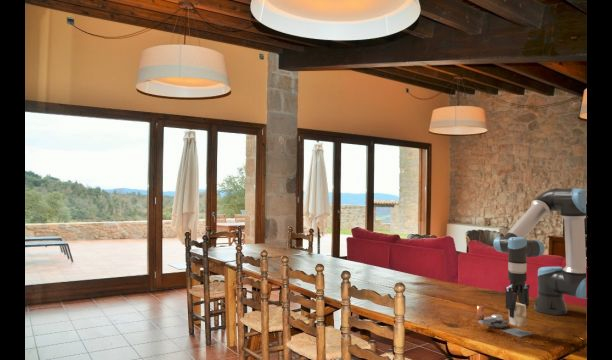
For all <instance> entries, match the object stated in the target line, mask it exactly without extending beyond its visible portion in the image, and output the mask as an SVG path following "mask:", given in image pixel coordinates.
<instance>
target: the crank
mask: <svg viewBox="0 0 612 360" xmlns="http://www.w3.org/2000/svg"><path fill="white" fill-rule="evenodd" d="M476 320H477V322H478V324H480V325H487V324H488V323H493V322H503V320H504V316H503V315H502V314H498V313H493V314H491V316H485V306H483V305H477V306H476Z"/></svg>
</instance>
